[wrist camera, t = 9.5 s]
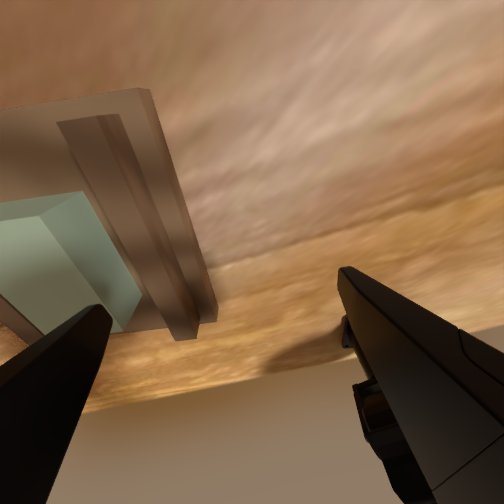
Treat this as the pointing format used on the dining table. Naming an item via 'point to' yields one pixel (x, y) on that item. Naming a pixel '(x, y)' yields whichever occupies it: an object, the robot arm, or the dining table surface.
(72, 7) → the dining table surface
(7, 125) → the brown wooden stand
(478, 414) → the robot arm
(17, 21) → the dining table surface
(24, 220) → the pale green block
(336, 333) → the dining table surface
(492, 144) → the dining table surface
